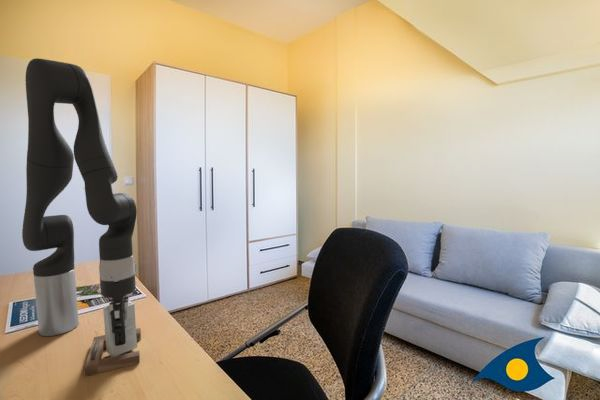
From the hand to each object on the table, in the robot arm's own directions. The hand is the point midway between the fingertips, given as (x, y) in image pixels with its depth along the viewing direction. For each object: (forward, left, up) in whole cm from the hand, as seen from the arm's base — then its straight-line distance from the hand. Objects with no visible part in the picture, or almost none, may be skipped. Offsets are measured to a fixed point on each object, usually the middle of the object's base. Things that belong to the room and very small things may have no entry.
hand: (121, 338), depth 78 cm
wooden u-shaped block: (0, -1, -4) cm, 4 cm away
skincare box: (0, 0, -3) cm, 3 cm away
